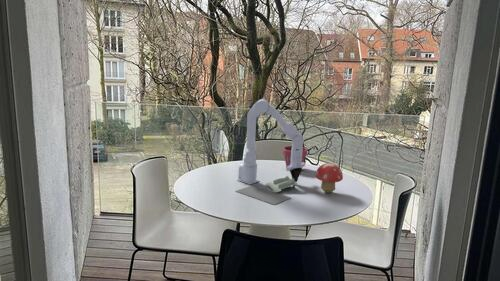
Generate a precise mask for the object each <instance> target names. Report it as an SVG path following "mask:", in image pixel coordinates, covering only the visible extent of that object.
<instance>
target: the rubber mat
mask: <svg viewBox="0 0 500 281" xmlns="http://www.w3.org/2000/svg"><path fill="white" fill-rule="evenodd" d="M272 191H273V190H269V189H266V188H264V187H263V188H262V187H259V186H256V185H254V184H253V185H252V184H251V185H250V186H246V187H244V188H239V189H237V190H235V192H236V193H238V192H239V194H242V195H244V196H247V197H250V198H253V199H256V200H259V201H261V202H264V203H266V204H270V205H273V206H275V205H278V204H280V203H283V202H285V201H288V200H290V199H292V197H291V196H287V195H286V194H285V195H284V194H282V193H280V192H277V193H274V192H272Z"/></svg>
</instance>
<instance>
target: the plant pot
mask: <svg viewBox="0 0 500 281" xmlns="http://www.w3.org/2000/svg"><path fill="white" fill-rule="evenodd" d="M302 148H303V151H302V162H304V163H305V158H306V157H307V156H308V155H307V154H308V148H306V147H304V146H303V147H302ZM291 150H292V145H288V146H287V145H286V146H284V147H283V148H282V154H283V155H284V162H285V168H286V167H287V166H289V165H290V164H291Z"/></svg>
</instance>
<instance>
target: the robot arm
mask: <svg viewBox="0 0 500 281" xmlns="http://www.w3.org/2000/svg"><path fill="white" fill-rule="evenodd" d="M265 113H266V114H267V115H269V116H271V117H273V118H274V120H275V121H276V122H277V123H279V125H281V131H282V132H283V133H284V134H285V136H287V137H288V139H290V140H291V143H292V144H291V146H292V150H291V164H290V165H289V166H287V167H286V166H285V171H286V172H289V173H290V175H291V179H293V178H294V181H295V182H296V183H297V182H298V181H299V177H300V176H301V175H300V174H301V173H302V171H303V167H305V166H306V162H305V161H304V162H302V151H303V148H302V147H304V146H303V145H304V142H305V140H304V137H303V135H302V133H301V132H300V130H298V129H296V127H295V125H294V123H293V122H292V123H291V122H290V121H286V120H285V118H284V117H283V116H282V115H281V114H280V112H279V111H278V110H277V109H276V108H275V106H273V105H272V104H271V102H269V101H268V100H267V99H265V98H261V99H259V100H257V101H256V102H255V103H254V104H253V105H252V107H251V108H250V109H249V111H248V112H247V115H246V116H247V117H246V144H245V145H246V148H245V149H246V150H245V154H244V155H245V156H244V157H243V163H241V164H240V165H239V167H238V173H237V174H238V175H237V176H238V178H237V181H238V182H242V183H245V184H248V185H252V184H253V185H254V184H255V183H258V182H260V180H259V179H257V172H258V164H257V159H258V155H257V153H256V131H257V129H256V127H257V126H256V124H257V118H258V117H259V116H260V115H262V114H265Z"/></svg>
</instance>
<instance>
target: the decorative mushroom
mask: <svg viewBox="0 0 500 281" xmlns="http://www.w3.org/2000/svg"><path fill="white" fill-rule="evenodd" d="M315 178H316V179H317V180H319V181H321V183H320V184H321V185H320V189H321V190H322V191H323V192H324V193H327V194H330V193H332V192H334V191H335V190H336V183H339V182H341V181H343V179H344V175H343V171H342V169H341V168H340V166H338V165H336V164H334V163H331V162H328V163H323V164H322V165H319V167H318V168H317V169H316V171H315Z"/></svg>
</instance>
